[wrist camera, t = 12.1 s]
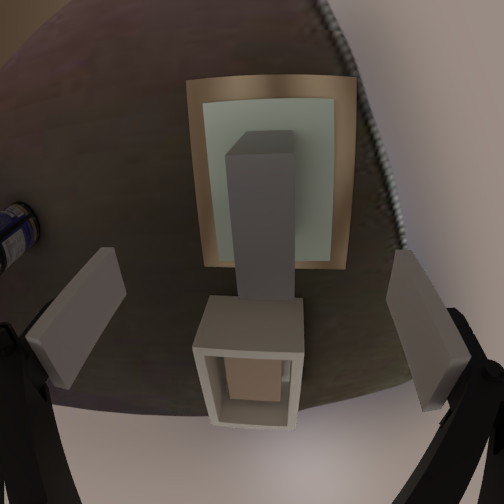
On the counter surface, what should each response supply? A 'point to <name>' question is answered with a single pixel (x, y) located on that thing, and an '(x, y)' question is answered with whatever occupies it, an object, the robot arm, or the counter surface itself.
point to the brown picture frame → (278, 87)
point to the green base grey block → (271, 188)
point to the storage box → (251, 361)
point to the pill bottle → (16, 233)
